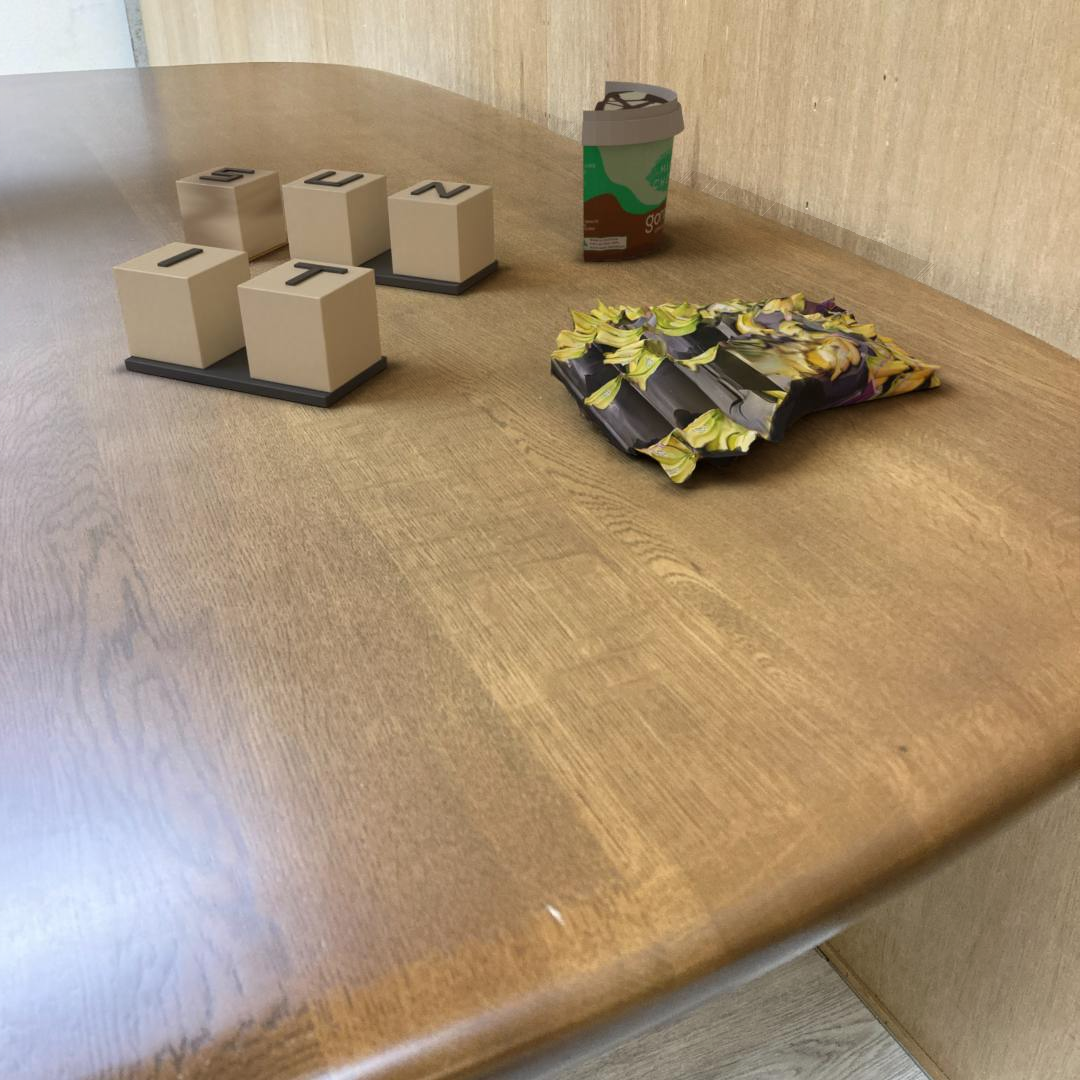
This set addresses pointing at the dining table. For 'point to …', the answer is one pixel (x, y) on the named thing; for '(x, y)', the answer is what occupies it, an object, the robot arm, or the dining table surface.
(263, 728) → the dining table surface
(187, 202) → the tile
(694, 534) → the dining table surface
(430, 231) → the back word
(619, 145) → the food container
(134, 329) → the front word
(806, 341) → the banana patterned fabric
